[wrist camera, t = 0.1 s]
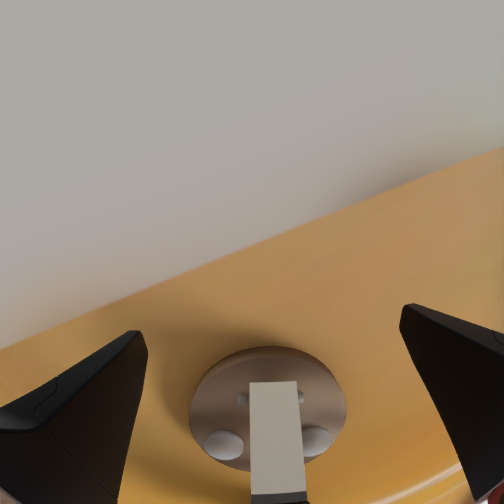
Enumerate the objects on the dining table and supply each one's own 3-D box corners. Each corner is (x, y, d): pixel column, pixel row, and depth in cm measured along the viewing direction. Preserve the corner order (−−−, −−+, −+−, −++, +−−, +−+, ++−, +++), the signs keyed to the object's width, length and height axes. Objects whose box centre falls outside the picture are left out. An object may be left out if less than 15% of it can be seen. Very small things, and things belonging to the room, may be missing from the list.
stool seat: (329, 452, 26) (336, 471, 23) (200, 456, 26) (196, 476, 22) (347, 341, 25) (360, 356, 21) (186, 345, 25) (178, 361, 21)
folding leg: (290, 397, 22) (298, 500, 15) (249, 398, 22) (251, 503, 15) (296, 381, 20) (307, 500, 13) (249, 382, 20) (251, 504, 12)
